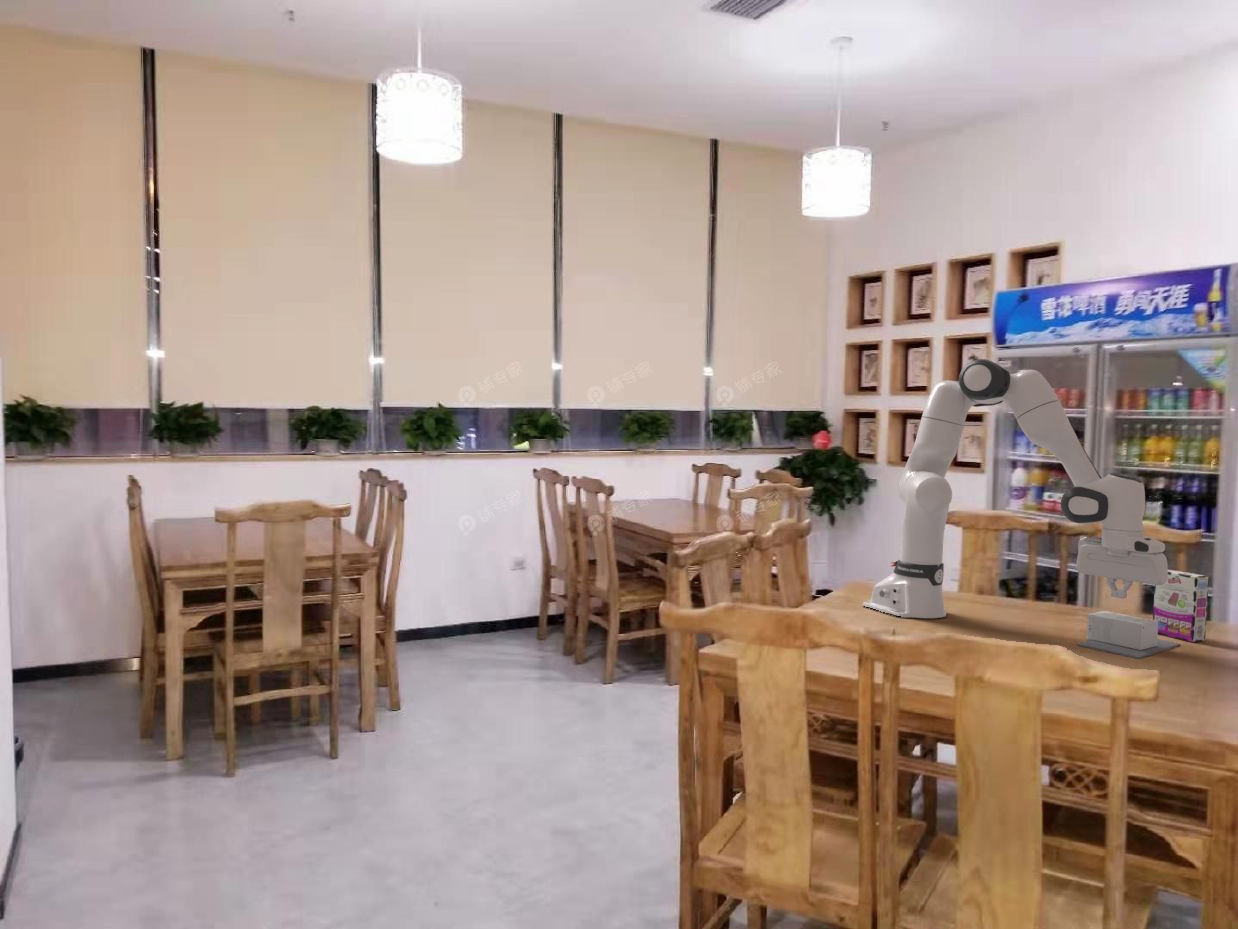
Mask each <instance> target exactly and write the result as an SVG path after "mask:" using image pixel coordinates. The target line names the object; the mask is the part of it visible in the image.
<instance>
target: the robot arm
mask: <svg viewBox="0 0 1238 929" xmlns="http://www.w3.org/2000/svg"><path fill="white" fill-rule="evenodd" d="M1003 402H1005V403H1006V404H1007V406H1008V407H1009V408H1010V410H1011V412H1012V413H1013V415H1014V418H1015V420H1016V421H1017V423H1018V426H1019V427H1020V430H1021V431H1022V432H1023V433H1024V435H1025V436H1026V437H1027V439H1028V440H1029V442H1030V443H1032V444H1034V445H1036V446H1038V447H1039V448H1042V449H1044V450H1046V451H1047V452H1049V453H1051V454H1052V455H1054V456H1055V457H1056V458H1057V459H1058V460H1059V462H1060V463H1061V465H1062V466H1063V468H1064V470H1065V472H1066V474H1067V475H1068V477H1069V479H1070V480H1071V481H1072V484H1073V487H1071V488H1069V489H1067V490H1066V491H1065V492H1064V493H1063V495H1062V497H1061V499H1060V509H1061V512H1062V514H1063V515H1064V517H1065V518H1066V519H1067V520H1069V521H1070V522H1073V523H1076V524H1079V525H1080V524H1081V525H1087V524H1095V523H1100V524H1101V525H1102V528H1101V537H1091V536H1085V537H1083V538H1080V540H1078V544H1077V549H1078V552H1077V557H1076V564H1075V569H1076V571H1077V573H1079V574H1082V575H1090V576H1095V577H1103V578H1106V583H1107V584H1108V586H1109V588H1110V590H1111V592H1110V596H1111V597H1113V598H1117V599H1122V600H1125V599H1127V595H1128V591H1129V590H1130V589H1131V587H1132V586H1133V582H1135V583H1140V584H1146V585H1151V586H1152V585H1153V586H1155V585H1162V584H1164V583H1165V582H1166V581H1167V579H1168V569H1169V567H1168V566H1169V565H1168V560H1167V557H1166V555H1165V554H1164V551H1165V549H1166V544H1165V543H1164V542H1162V541H1160V540H1157V539H1155V538H1153V537H1150V536H1148V535H1146V534H1144V530H1145V528H1144V525H1143V518H1144V514H1145V512H1146V491H1145V485H1144V482H1143V481H1142V479H1141V478H1139V477H1137V476H1134V475H1131V474H1126V473H1119V472H1110V473H1108V474H1107V475H1106V476H1104V477H1102V476H1101V475H1100V473H1099V472H1098V471H1097V469H1096V467H1095V465H1094V463H1093V461H1092V460H1091V459H1090V457H1089V455H1088V453H1087V452H1086V449H1085V448H1084V446H1083V444H1082V443H1081V441H1080V440H1079V438H1078V436H1077V434H1076V432H1075V431H1074V429H1073V426H1072V425H1071V423H1070V420H1069V418H1068V415H1067V414H1066V410H1064V407H1063V405H1062V403H1061V401H1060V399H1059V398H1058V396H1057V394H1056V392H1055V390H1054V389H1053V388H1052V386H1051V385H1050V383H1049V382H1048V381H1047V379H1046V378H1045V377H1044V375H1043V374H1042V373H1041V372H1039V371H1038V370H1035V369H1023V370H1021V371H1018V372H1015V373H1010V371H1008V370H1006V369H1005V368H1004V367H1002V366H1001V365H1000V364H998V363H996V362H994V361H992V360H989V359H985V358H983V359H982V358H981V359H980V358H978V359H974V360H971V361H969V362H967V364H965V365H964V366H963V367H962V369H961V371H960V373H959V375H958V380H942V381H939V382H937V383H935V385H934V386H933V387H932V389H931V392H930V393H929V396H928V398H927V401H926V403H925V406H924V408H923V412H922V415H921V418H920V422H919V426H918V430H917V434H916V438H915V441H914V443H913V444H914V445H913V447H912V450H911V452H910V455H909V457H908V459H907V462H906V464H905V466H904V469H903V472H902V475H901V477H900V478H899V479H900V480H899V482H898V485H897V492H898V495H899V497H900V499H901V501H902V502H903V504H905V506H906V507H905V508H906V509H905V514H904V519H903V525H902V528H901V529H900V544H899V545H900V548H899V559H897V561H892V562H891V564H892V565H890V567H892V568H893V567H894V569H893V572H892V573H891V574H889V575H888V576H887V577H885V578H884V579H882V580H880V581H879V582H877V583H875V585H874V586H873V589H872V592H871V599H868V600H866V601H863V602H862V607H863V606H865V607H864V608H866V607H870V608H873V609H876V610H879V611H878V612H880V611H881V613H883V612H885V613H884V614H886V613H891V614H894V615H897V616H901V617H900V618H915V619H916V618H917V619H938V618H944V617H946V616H947V612H946V608H945V603H944V596H943V595H944V594H943V581H944V575H945V574H944V571H945V566H944V565H945V564H944V563H943V555H944V554H943V553H944V551H943V550H944V538H945V537H944V536H945V528H946V523H947V519H948V515H949V508H950V504H951V502H952V498H953V490H952V488H951V485H950V484H949V482H948V480H947V479H946V478H945V477H946V475H947V472H948V471H949V469H950V466H951V464H952V462H953V460H954V459H955V457H956V455H957V454H958V453H957V452H958V449H959V445H960V442H961V438H962V434H963V431H964V426H965V423H966V419H967V416H968V413H969V411H970V409H971V408H973V407H975V408H978V407H988V406H995V405H999V404H1003ZM1118 580H1121V581H1122V585H1124V586H1123V587H1122V589H1118V587H1117V585H1116V583H1117V581H1118ZM870 608H869V609H870ZM873 609H872V610H873ZM876 610H875V611H876Z"/></svg>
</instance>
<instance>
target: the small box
mask: <svg viewBox="0 0 1238 929" xmlns="http://www.w3.org/2000/svg"><path fill="white" fill-rule="evenodd" d="M1086 620H1087V622H1086V639H1087V640H1095V641H1099V642H1104V643H1109V644H1114V645H1118V646H1123V647H1128V648H1132V649H1137V650H1143V649H1147V648H1151V647H1155V646H1157V639H1158V635H1159V634H1158V621H1156V620H1153V619H1150V618H1145V617H1140V616H1135V615H1129V614H1126V613H1125V614H1123V613H1119V612H1114V611H1108V610H1101V611H1096V612H1095V611H1094V612H1091V613H1087V619H1086Z"/></svg>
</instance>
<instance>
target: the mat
mask: <svg viewBox="0 0 1238 929" xmlns="http://www.w3.org/2000/svg"><path fill="white" fill-rule="evenodd" d="M1077 646H1078V647H1083V648H1087V649H1093V650H1097V651H1101V652H1105V651H1106V653H1110V654H1115V655H1120V656H1124V657H1128V658H1134V659H1137V660H1138V659H1139V660H1140V659H1142V658H1146V657H1148V656H1151V655H1155V654H1157V653H1161V652H1165V651H1167V650H1170V649H1173V648H1176V647H1179V646H1181V643H1180V642H1173V641H1168V640H1163V639H1158V638H1157V646H1155V647H1151V648H1147V649H1143V650H1137V649H1132V648H1128V647H1123V646H1118V645H1114V644H1109V643H1104V642H1099V641H1095V640H1090V639H1088V640H1086V641H1082V642H1079V643H1077Z"/></svg>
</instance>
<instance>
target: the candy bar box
mask: <svg viewBox="0 0 1238 929" xmlns="http://www.w3.org/2000/svg"><path fill="white" fill-rule="evenodd" d="M1209 581H1210V576H1209V575H1203V574H1198V573H1194V572H1187V571H1181V570H1175V569H1169V568H1168V579H1167V581H1166V582H1165V583H1164V584H1162V585H1154V591H1153V592H1154V596H1153V609H1152V610H1153V611H1152V612H1153V613H1152V620H1156V621H1158V635H1160V636H1165V637H1168V638H1172V639H1173V638H1174V639H1176V640H1181V641H1184V642H1189V643H1202V642H1206V632H1207V617H1208V616H1207V615H1208V613H1207V612H1208V601H1209V600H1208V598H1209V597H1208V595H1209Z"/></svg>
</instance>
